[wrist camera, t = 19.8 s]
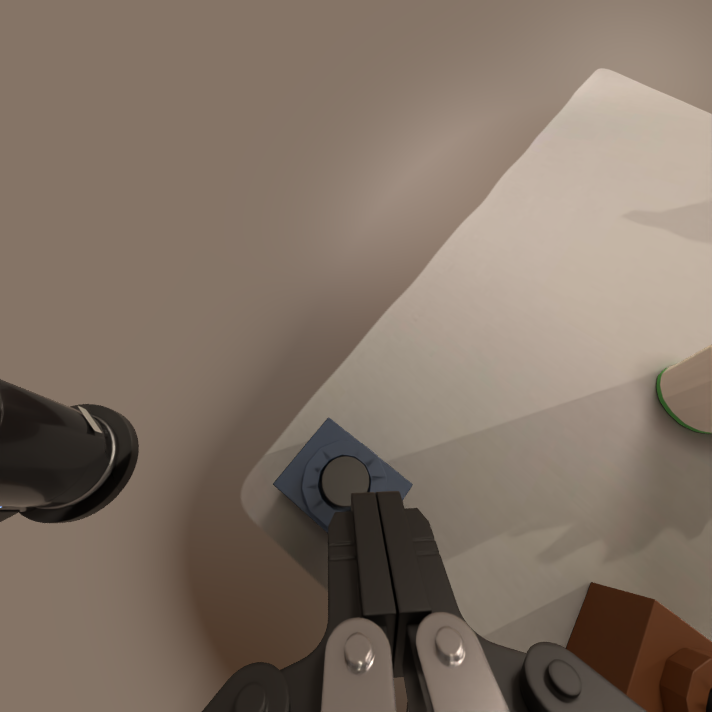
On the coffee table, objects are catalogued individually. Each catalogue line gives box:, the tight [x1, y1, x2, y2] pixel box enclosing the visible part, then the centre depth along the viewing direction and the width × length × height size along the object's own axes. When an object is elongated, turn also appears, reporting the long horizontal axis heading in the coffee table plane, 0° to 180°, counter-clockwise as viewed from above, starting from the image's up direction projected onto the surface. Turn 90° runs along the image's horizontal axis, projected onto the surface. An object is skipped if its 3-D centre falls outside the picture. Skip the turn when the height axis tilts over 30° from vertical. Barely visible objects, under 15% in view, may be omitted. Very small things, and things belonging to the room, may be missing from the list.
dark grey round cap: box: [322, 456, 369, 507], centre depth 25 cm, size 3×3×2 cm
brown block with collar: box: [566, 582, 712, 712], centre depth 26 cm, size 10×8×9 cm
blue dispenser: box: [273, 418, 413, 533], centre depth 30 cm, size 9×7×9 cm
